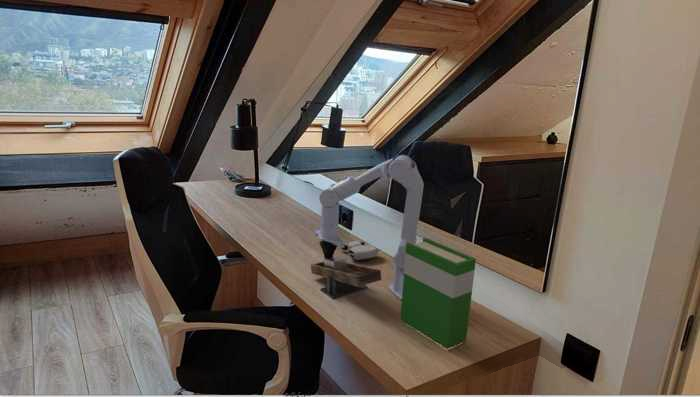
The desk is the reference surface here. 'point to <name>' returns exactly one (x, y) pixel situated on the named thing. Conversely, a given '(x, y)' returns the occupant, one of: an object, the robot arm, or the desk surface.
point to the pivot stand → (339, 288)
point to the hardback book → (437, 291)
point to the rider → (336, 263)
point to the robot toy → (360, 250)
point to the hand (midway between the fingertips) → (328, 261)
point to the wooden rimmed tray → (349, 274)
